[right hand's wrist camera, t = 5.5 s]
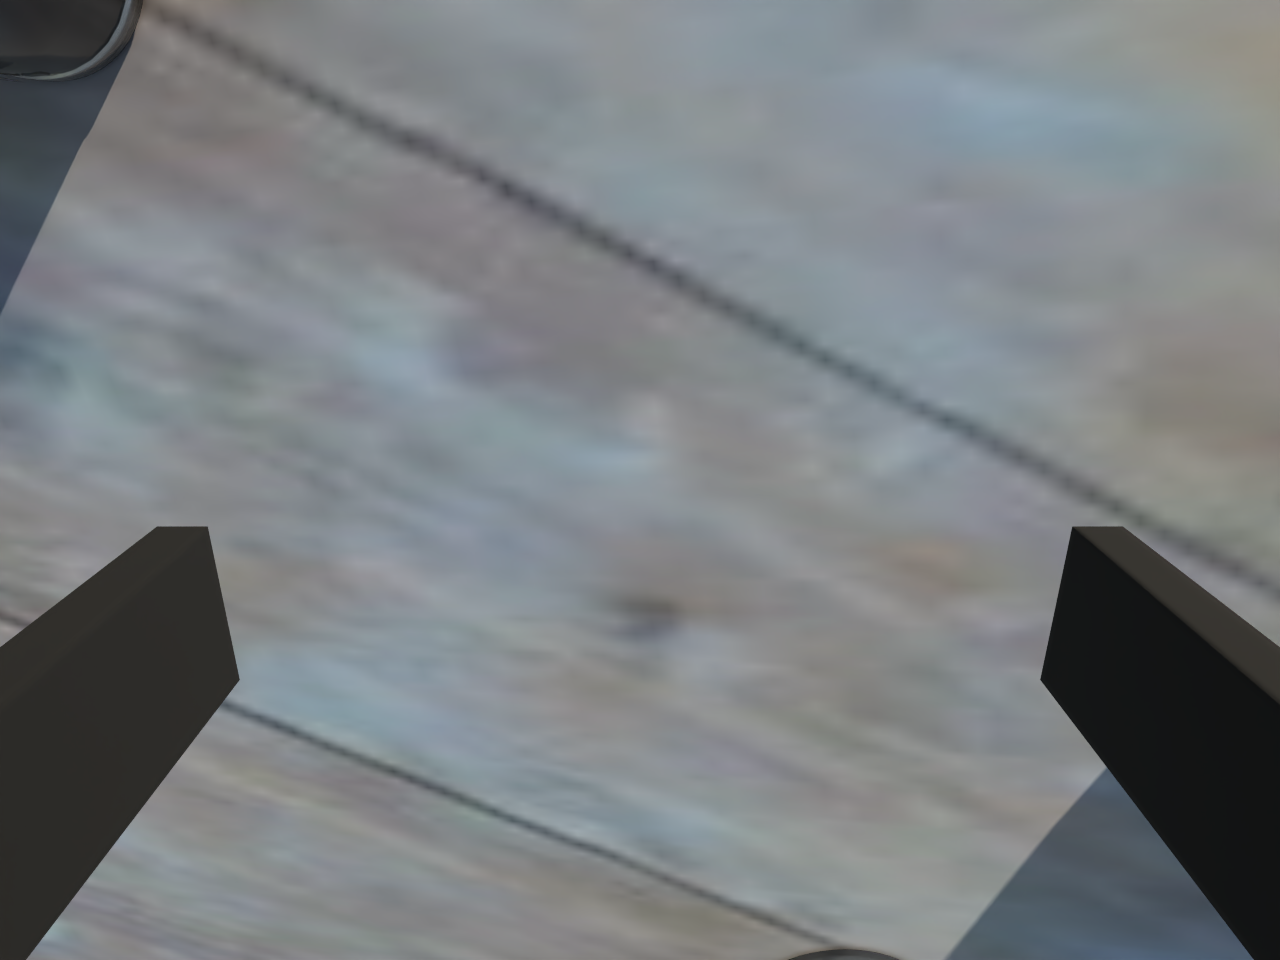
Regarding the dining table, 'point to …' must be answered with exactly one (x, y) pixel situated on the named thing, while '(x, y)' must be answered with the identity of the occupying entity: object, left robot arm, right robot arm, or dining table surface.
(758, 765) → the dining table surface
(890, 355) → the dining table surface
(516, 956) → the dining table surface
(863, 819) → the dining table surface
